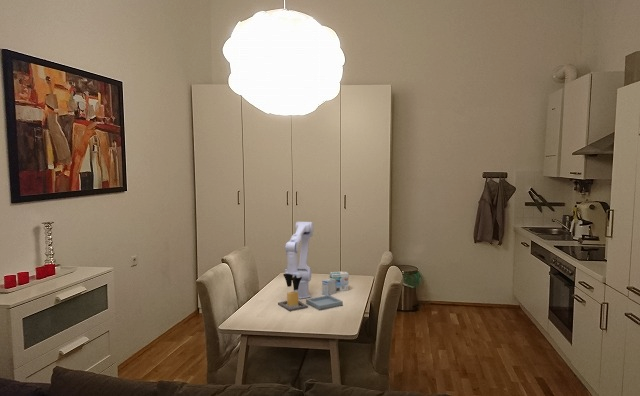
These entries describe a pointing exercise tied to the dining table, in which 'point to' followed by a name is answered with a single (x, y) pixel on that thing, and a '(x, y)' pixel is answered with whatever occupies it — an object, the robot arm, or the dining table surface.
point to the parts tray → (324, 302)
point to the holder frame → (302, 306)
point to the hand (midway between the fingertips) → (292, 288)
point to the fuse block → (292, 299)
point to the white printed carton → (340, 280)
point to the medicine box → (328, 286)
